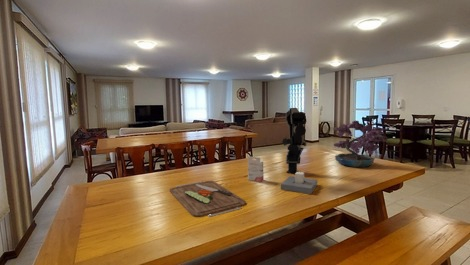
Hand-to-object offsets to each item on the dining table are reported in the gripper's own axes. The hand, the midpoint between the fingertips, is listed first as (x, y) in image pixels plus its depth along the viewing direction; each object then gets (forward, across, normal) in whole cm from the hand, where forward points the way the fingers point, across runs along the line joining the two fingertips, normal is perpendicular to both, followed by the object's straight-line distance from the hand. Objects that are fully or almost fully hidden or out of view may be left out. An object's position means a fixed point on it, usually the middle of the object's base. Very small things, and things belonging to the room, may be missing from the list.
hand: (297, 160), depth 148 cm
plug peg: (+13, +9, +4) cm, 16 cm away
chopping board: (+14, +44, -35) cm, 58 cm away
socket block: (+13, +9, +4) cm, 16 cm away
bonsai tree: (+13, -57, +29) cm, 65 cm away
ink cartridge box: (+13, +8, -23) cm, 28 cm away
